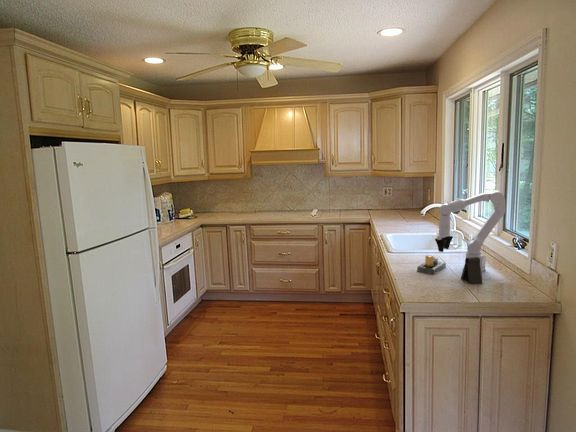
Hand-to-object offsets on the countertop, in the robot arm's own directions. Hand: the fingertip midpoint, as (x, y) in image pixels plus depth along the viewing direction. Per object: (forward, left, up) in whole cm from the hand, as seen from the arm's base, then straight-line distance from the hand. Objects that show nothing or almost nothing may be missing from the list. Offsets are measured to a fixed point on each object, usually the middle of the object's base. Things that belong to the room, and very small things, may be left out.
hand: (443, 250), depth 217 cm
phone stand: (-20, +15, -10) cm, 27 cm away
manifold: (+3, +8, -9) cm, 13 cm away
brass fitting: (+3, +12, -9) cm, 15 cm away
